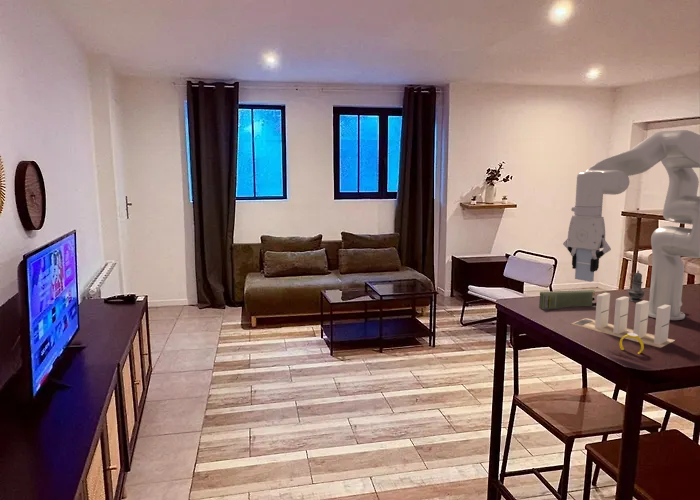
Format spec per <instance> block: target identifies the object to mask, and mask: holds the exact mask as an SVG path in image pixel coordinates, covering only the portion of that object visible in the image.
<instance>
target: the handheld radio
mask: <svg viewBox="0 0 700 500" xmlns="http://www.w3.org/2000/svg"><path fill="white" fill-rule="evenodd" d="M595 292H596V290H594V289H592V290H591V289H587V290H583V289H582V290H555V291H554V290H552V291H549V290H548V291H540V292H539V304H538V308H539V309H540V310H559V309H562V308H567V307H594V306H595V307H596V303H597V302H594V301H595V300H596V299H595V298H596V297H593V296H595V295H596V294H595Z"/></svg>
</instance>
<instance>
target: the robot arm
mask: <svg viewBox="0 0 700 500" xmlns="http://www.w3.org/2000/svg"><path fill="white" fill-rule="evenodd" d="M660 162H661V164H662V165H663V167H664V168H665V170H666V174H667V175H668V188H667V191H666V192H667V193H666V195H665V196H666V197H665V201H664V204H663V210H662V216H663V219H664V220H666V221H667V222H670V223H673V224H674V223H675V224H681V225H682V224H683V225H692V226H691V227H692V228H687V227H680V226H671V225H670V226H669V225H665V226H664V225H663V226H660V227H658V228H656V229H655V230H654V231H653V232H652V233H651V238H650V245H651V252H652V253H651V254H652V263H651V275H650V286H649V297H648V298H649V300H648V301H649V312H648V317H650V318H654V319H656V314H657V307H660V306H662V305H670V306H671V310H670V320H669V321H680V320H684V319H685V318H686V314H685V313H684V312H683V311H681V307H682V306H683V302H682V295H683V287H684V286H683V285H684V277H685V276H684V275H685V264H684V262H683V259H682V257H685V258H692V259H700V195H698V190H699V186H700V185H699V183H700V180H699V177H698V175H697V173H696V171H695V170H694V169H696V168H698V169H699V168H700V134H699V133H697V132H694V131H691V130H687V129H681V130H680V129H678V130H661V131H657V132H654V133H652V134H650V135H649V136H648V137H646V138H645V139H644V140H642V141H640V142H639V143H638V144H636V145H635V146H634V147H632V148H630V149H629V150H626V151H624V152H623V151H622V152H620V153H618V154H615V155H612V156H610V157H607V158H605V159H602V160H600V161H598V162H596V163H595V164H593V165H591V166H590V167H589V168H587V169H586V170H585V171H581V172H579V173H578V174H577V176H576V188H575V202H574V203H575V205H574V207H573V206H572V207H571V209H570V210H571V212H574V215H572V216H571V218H570V221H569V226H568V232H567V239H566V240H565V241H564V242H563V243H562V245H563V246H564V247H565V248H566V249H567V251H568V252H569V254H570V256H571V258H572V259H571V265H572V270H573V269H574V270H575V269H576V251H577V248H580V249H587V250H591V252H592V257H593V259H591V264H590V271H591V272H594V273H595V272H598V269H599V266H600V259H601V258H602V257H603V256H604V255H606V254H607V253H608V252H611V250H612V249H611V246H610V245H609V244H608V242H607V241H606V224H605V218H604V216H602V215H603V200H604V195H611V196H612V195H620V194H623V193H624V192H626V190H627V189H628V188H629V185H630V177H631V176H635V175H641V174H642V173H645V172H647V171H649V170H650V169H651V168H653V167H654V166H655V165H657V164H659V163H660ZM697 195H698V196H697Z"/></svg>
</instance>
